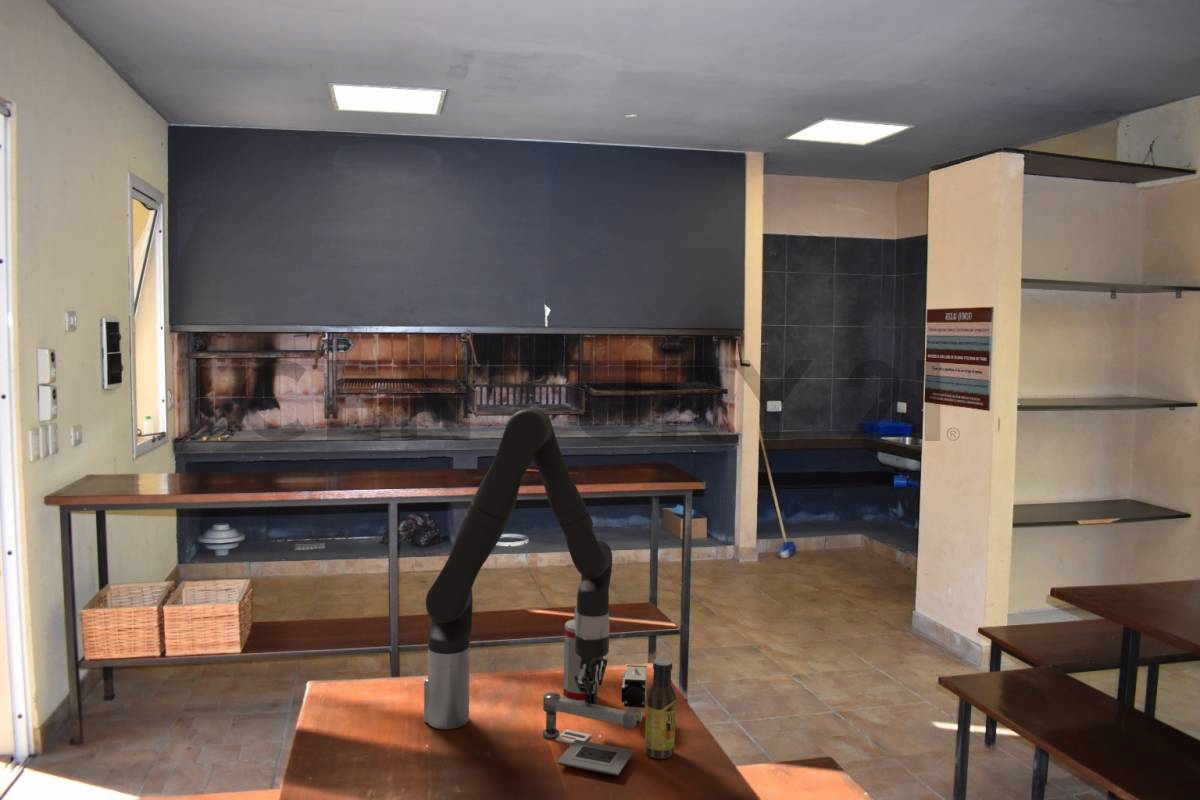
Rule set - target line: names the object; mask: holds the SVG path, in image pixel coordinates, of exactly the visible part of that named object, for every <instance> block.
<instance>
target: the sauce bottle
mask: <svg viewBox="0 0 1200 800" xmlns="http://www.w3.org/2000/svg"><path fill="white" fill-rule="evenodd" d="M652 670H653V678H652V683H651V685H650V686H649V688H648V690H647V691H646V702H645V726H644V727H645V730H644V731H645V733H644V745H645V747H644V751H645V752H644V753H645V754H646V755H647V756H648V757H649V758H653V759H659V760H662V759H663V760H665V759H668V758H670V757H672V756H673V755H674V750H675V749H674V747H675V739H676V737H675V736H676V713H677V712H676V710H677V696H676V691H675V690H674V688H673V686H672V670H673V662H672V660H670V659H665V658H656V659H654V660H653V663H652Z"/></svg>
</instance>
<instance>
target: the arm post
mask: <svg viewBox="0 0 1200 800" xmlns="http://www.w3.org/2000/svg"><path fill="white" fill-rule="evenodd" d="M545 719H546V720H545V729H543V730H542V737H543V738H544V739H545V740H556V738H557V737H558V736H559V735H560V730H559V729H557V712H554V713H549V712H546V714H545Z"/></svg>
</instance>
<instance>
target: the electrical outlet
mask: <svg viewBox="0 0 1200 800" xmlns="http://www.w3.org/2000/svg"><path fill="white" fill-rule="evenodd" d="M634 752H635V750H634V749H629V748H625V747H617V746H615V745H614V746H613V745H607V744H602V743H598V742H592V741H588V740H587V741H582V740H576V739H575V741H574V742H573V743H572V744H570V746H569V747H568V748H567V749H566V750H565V751H564V753H562V755H561V756H560V757H559V759H558V760H557V761H556V764H557V765H560V766H563V767H568V768H573V769H577V770H584V771H590V772H592V773H593V772H594V773H598V774H603V775H608V776H609V775H610V776H614V777H617V776H619V775H620V773H622V770H623V768H624V767H625V766H626V764H627V763H628V762H629V760H630V759H631V757H632V755H633V754H634Z"/></svg>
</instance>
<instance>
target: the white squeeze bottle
mask: <svg viewBox="0 0 1200 800" xmlns="http://www.w3.org/2000/svg"><path fill="white" fill-rule="evenodd" d="M576 615H577V604H576V606H575V609H574V615H573V616H574V617H573V619H571V620H567V621H566V622H565V624H564V639H563V640H564V645H563V647H564V648H563V692H562V693H563V694H562V697H563V698H568V699H573V700H577V701H582V702H585V693H582V692H580V690H579V688H578V686H577V684H576V681H575V675H579V674H580V672H581V670H580V663H581V657H580V656H579V655H577V654H576V652H575V622H576Z"/></svg>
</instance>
